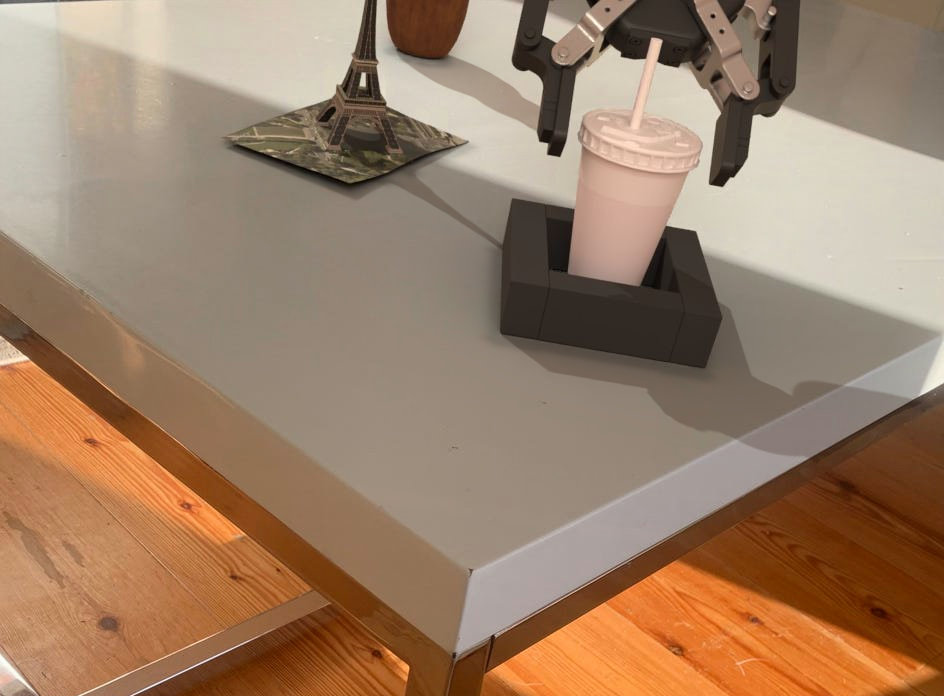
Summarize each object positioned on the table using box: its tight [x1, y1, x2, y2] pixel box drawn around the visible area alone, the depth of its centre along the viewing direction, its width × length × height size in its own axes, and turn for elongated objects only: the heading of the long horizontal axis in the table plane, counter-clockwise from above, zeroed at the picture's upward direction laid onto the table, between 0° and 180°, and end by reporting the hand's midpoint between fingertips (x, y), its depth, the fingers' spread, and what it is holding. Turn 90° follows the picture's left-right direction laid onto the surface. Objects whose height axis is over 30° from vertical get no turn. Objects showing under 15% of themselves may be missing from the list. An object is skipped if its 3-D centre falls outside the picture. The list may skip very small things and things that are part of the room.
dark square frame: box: [499, 197, 724, 369], centre depth 62 cm, size 11×11×3 cm
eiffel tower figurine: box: [220, 0, 470, 184], centre depth 72 cm, size 15×10×13 cm
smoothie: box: [567, 38, 704, 287], centre depth 59 cm, size 6×6×14 cm
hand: (639, 165), depth 57 cm, fingers open, 8 cm apart
